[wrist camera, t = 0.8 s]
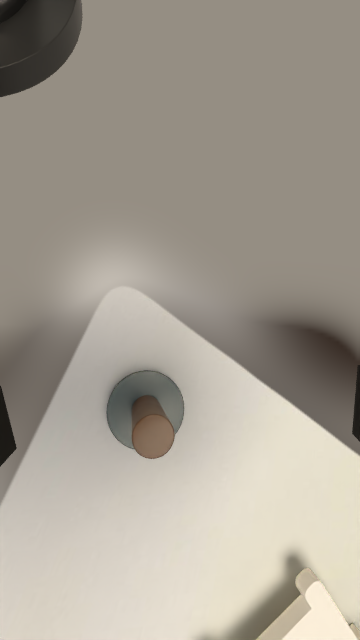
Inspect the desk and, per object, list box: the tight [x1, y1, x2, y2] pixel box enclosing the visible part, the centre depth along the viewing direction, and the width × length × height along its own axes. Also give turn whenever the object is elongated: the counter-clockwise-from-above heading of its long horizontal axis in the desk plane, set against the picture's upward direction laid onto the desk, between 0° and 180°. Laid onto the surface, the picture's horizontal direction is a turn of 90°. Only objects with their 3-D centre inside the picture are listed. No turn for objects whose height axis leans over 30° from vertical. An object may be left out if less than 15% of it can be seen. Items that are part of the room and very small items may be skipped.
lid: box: [107, 371, 184, 459], centre depth 19 cm, size 6×6×9 cm
